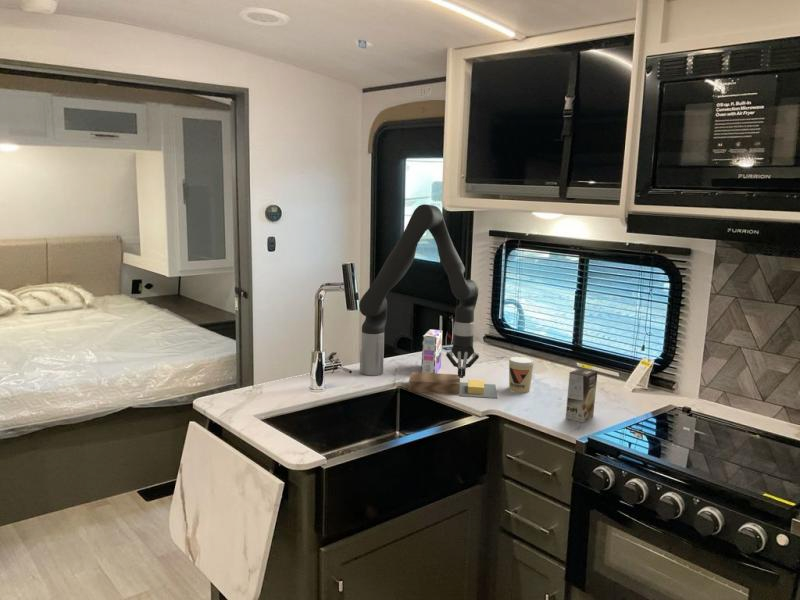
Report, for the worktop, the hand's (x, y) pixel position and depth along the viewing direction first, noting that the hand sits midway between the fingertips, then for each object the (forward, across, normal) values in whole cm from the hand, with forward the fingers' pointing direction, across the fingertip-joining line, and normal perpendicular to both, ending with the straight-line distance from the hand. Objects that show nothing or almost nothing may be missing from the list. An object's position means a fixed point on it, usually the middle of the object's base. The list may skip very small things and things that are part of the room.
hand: (461, 377), depth 234 cm
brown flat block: (+5, -10, 0) cm, 11 cm away
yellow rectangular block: (+2, +6, 0) cm, 6 cm away
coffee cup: (+5, +22, +4) cm, 23 cm away
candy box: (+5, -12, +23) cm, 27 cm away
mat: (+5, +6, 0) cm, 8 cm away
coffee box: (+5, +40, -22) cm, 46 cm away
